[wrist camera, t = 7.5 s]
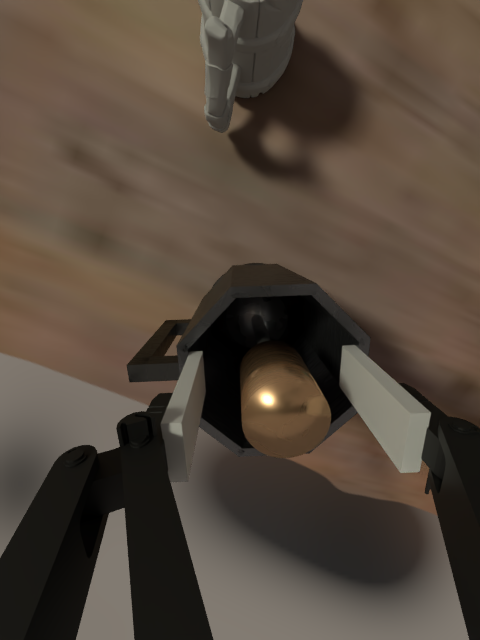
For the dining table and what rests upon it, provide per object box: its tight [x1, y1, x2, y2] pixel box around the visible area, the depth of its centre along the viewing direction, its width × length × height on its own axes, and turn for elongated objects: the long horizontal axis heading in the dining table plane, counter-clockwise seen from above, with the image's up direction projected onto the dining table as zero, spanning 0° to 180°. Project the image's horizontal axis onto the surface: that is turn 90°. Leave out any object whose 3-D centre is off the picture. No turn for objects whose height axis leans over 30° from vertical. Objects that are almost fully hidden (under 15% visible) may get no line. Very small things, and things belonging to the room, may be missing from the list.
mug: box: [198, 0, 303, 133], centre depth 19 cm, size 8×12×12 cm, turn 160°
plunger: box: [226, 296, 331, 458], centre depth 20 cm, size 6×6×17 cm
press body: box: [127, 263, 370, 457], centre depth 23 cm, size 15×11×15 cm
